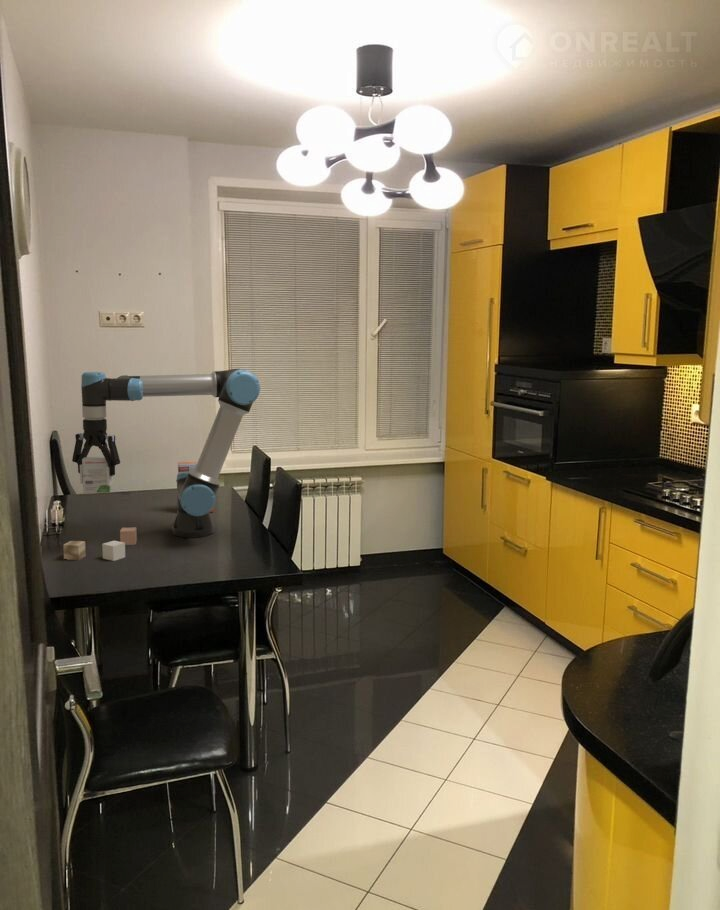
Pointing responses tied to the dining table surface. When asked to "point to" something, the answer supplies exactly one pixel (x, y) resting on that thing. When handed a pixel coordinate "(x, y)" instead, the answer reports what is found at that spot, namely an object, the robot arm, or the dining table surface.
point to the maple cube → (74, 550)
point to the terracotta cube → (128, 536)
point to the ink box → (94, 475)
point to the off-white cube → (113, 550)
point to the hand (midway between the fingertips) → (96, 483)
